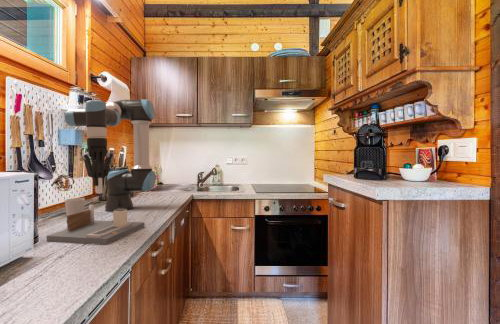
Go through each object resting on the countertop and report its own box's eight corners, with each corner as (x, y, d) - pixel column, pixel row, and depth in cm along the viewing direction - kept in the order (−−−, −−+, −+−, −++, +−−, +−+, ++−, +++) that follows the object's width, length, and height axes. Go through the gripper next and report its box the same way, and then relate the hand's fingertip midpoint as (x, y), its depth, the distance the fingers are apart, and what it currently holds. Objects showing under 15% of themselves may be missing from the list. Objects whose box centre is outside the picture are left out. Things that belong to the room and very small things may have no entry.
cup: (76, 227, 124) (75, 201, 124) (61, 227, 126) (60, 200, 125) (89, 223, 132) (88, 198, 132) (75, 222, 134) (74, 197, 133)
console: (94, 224, 129) (93, 203, 129) (144, 226, 124) (143, 204, 124) (46, 240, 106) (45, 214, 105) (106, 244, 100) (105, 217, 100)
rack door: (90, 223, 123) (90, 209, 123) (69, 230, 112) (69, 215, 112) (85, 223, 124) (85, 209, 123) (64, 230, 112) (63, 215, 112)
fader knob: (119, 224, 120) (119, 208, 119) (127, 225, 119) (126, 208, 119) (113, 227, 116) (113, 210, 115) (121, 227, 115) (120, 210, 115)
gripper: (105, 138, 125) (107, 190, 126) (76, 137, 113) (78, 194, 114) (116, 138, 121) (118, 191, 122) (87, 136, 110) (89, 196, 111)
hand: (99, 193), depth 118 cm, fingers closed
